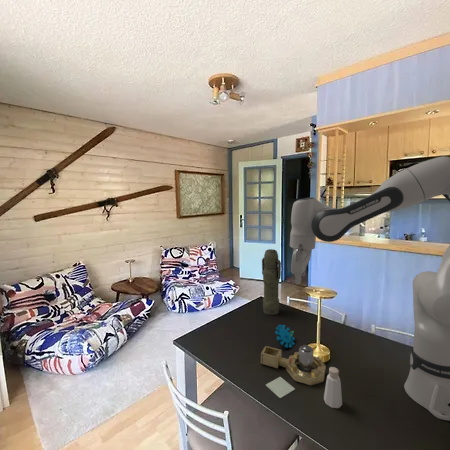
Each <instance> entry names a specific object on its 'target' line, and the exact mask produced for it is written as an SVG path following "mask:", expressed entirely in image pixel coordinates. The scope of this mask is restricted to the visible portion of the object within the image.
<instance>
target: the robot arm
mask: <svg viewBox="0 0 450 450" xmlns="http://www.w3.org/2000/svg"><path fill="white" fill-rule="evenodd" d="M438 196H443V197H444V198H445V199H446V201H448V202H450V157H449V156H438V157H434V158H431V159H428V160H424V161H422V162H420V163H417V164H414V165H412V166H409V167H407V168H405V169H402V170H401V171H398V172H397V173H395V174H393V175H392V176H390V177H388V178H387V179H386V180H384V181H383V182H382V183H381V184H380V186H378V188H377V189H376V190H375V191H374V192H373V193H371V194H369V195H368V196H366V197H364V198H362V199H359V200H357V201H355V202H353V203H350V204H349V205H346V206H344V207H340V208H336V207H332V206H329V205H327V204H325V203H323V202H321V201H320V200H318V199H317V198H316V197H305V198H299V199H297V200H295V201H294V202H293V204H292V208H291V217H290V225H291V230H290V234H289V247H290V248H292V255H291V265H290V266H291V267H290V268H291V269H290V272H291V274H292V275H294V278H295V280H294V283H295V284H296V285H301V283H302V277H305V276H306V270H307V267H308V264H310V261H311V256H312V251H313V250H315V249H316V242H317V241H316V239H319V240H320V241H322V242H327V243H332V242H337V241H338V240H340V239H341V238H343V237H344V236H345V235H346V233H348V232H349V231H350V229H352V228H354V227H355V226H357V225H359V224H361V223H364V222H367V221H369V220H370V219H374V218H376V217H378V216H380V215H382V214H385V213H390V212H394V211H397V210H402V209H405V208H409V207H413V206H415V205H418V204H421V203H424V202H426V201H428V200H430V199H432V198H435V197H438ZM412 302H413V303H412V305H413V306H412V307H413V318H414V319H413V320H414V330H413V331H414V332H413V333H414V334H413V346H412V347H411V352H410V359H409V364H410V369H409V374H408V376H407V378H406V381H405V382H404V384H403V387H404V390H405V393H406V394H407V395H408V396H409V398H411V399H412V400H413V401H414V402H416V404H419V405H420V406H421V407H423V408H425V409H426V410H428V412H430V413H431V414H432V415H433V416H434V417H435V418H437V419H439V420H443V421H450V244H449V245H448V247H447V248H446V249H445V251H444V253H443V254H442V256H441V262H440V265H439V267H438V270H437V272H435V271H430V270H428V271H423V272H420V273H418V274H417V275H415V276H414V278H413V280H412Z"/></svg>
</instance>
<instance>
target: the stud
mask: <svg viewBox="0 0 450 450" xmlns="http://www.w3.org/2000/svg"><path fill="white" fill-rule="evenodd" d="M298 352H299V365H298V366H297V368H298V370H300V371H303V372H307V373H311V370H313V369H314V367H313V356H314V349H313V347H311V346H310V345H308V344H302V345H301V346H299V348H298Z"/></svg>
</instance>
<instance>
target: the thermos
mask: <svg viewBox="0 0 450 450" xmlns="http://www.w3.org/2000/svg"><path fill="white" fill-rule="evenodd" d="M281 266H282V262H281V260H279V253H278V251H277V250H275V249H272V248H271V249H270V248H269V249H266V250H265V252H264V254H263V257H262V259H261V274H262V280H263V299H262V308H263V313H264V314H265V315H267V316H277V315H278V314H279V313H280V299H279V283H280V280H281V276H282V267H281Z"/></svg>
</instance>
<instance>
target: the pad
mask: <svg viewBox="0 0 450 450" xmlns="http://www.w3.org/2000/svg"><path fill="white" fill-rule="evenodd" d="M265 386H266V388H268V389H269V390H270V391H271V392H272V393H273V394H274V395H276V396H277V398H279V399H282V398H283V397H286V396H287V395H288V394H290V393H292V392H293V391H295V390H296V388H295V387H293V385H291V384H290V383H289V382H288V381H286V380H285V379H284V378H282V377H281V376H279V377H277V378H274V380H272V381H270V382H268V383H265Z"/></svg>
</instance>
